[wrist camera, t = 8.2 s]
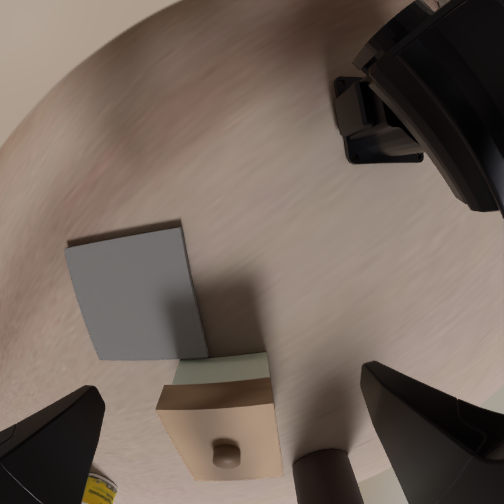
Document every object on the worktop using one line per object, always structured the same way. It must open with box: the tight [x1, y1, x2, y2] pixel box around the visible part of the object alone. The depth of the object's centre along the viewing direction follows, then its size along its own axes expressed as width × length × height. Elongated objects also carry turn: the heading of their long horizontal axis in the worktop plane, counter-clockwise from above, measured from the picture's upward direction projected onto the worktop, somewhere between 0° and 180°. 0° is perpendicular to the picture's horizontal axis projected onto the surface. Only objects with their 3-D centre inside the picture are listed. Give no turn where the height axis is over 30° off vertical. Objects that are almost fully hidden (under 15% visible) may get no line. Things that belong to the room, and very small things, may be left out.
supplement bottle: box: [81, 473, 117, 504], centre depth 22 cm, size 5×5×10 cm
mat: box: [64, 227, 209, 360], centre depth 19 cm, size 10×10×1 cm
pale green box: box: [172, 352, 270, 385], centre depth 19 cm, size 7×7×4 cm
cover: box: [155, 377, 284, 481], centre depth 16 cm, size 7×9×4 cm
